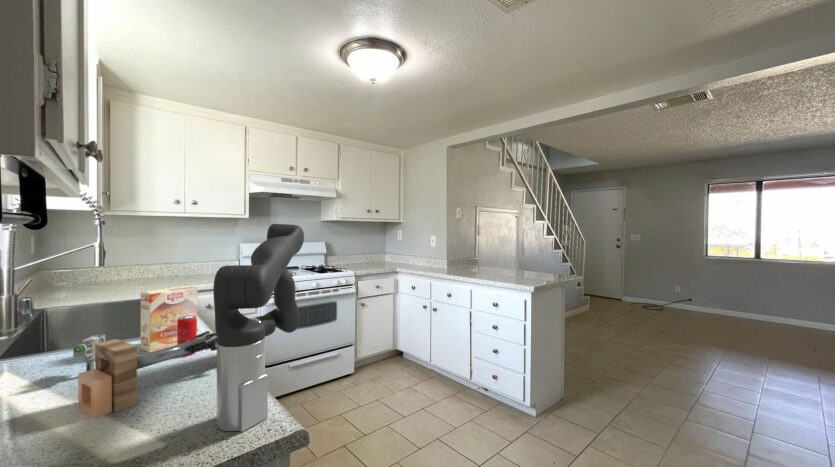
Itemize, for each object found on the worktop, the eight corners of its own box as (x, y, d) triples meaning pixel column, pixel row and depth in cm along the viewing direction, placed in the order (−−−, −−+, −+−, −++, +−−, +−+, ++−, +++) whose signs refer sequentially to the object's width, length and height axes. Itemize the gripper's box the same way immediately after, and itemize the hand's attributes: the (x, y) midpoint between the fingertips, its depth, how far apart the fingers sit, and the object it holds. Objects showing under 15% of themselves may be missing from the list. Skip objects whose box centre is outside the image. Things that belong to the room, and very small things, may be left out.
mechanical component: (70, 384, 90) (70, 346, 90) (95, 368, 100) (95, 334, 99) (84, 382, 91) (84, 345, 90) (107, 367, 100) (107, 333, 100)
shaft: (205, 346, 101) (205, 335, 101) (212, 348, 99) (212, 336, 99) (115, 373, 82) (115, 359, 82) (122, 376, 80) (122, 362, 80)
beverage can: (173, 355, 111) (173, 317, 110) (190, 349, 115) (190, 314, 115) (183, 358, 108) (183, 320, 108) (200, 352, 113) (200, 316, 113)
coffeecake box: (149, 353, 112) (149, 293, 111) (139, 349, 115) (139, 291, 115) (198, 340, 125) (198, 286, 124) (187, 337, 128) (187, 285, 128)
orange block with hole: (111, 411, 77) (111, 376, 77) (94, 418, 74) (94, 381, 74) (95, 402, 81) (95, 369, 81) (78, 408, 78) (78, 373, 78)
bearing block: (136, 403, 80) (136, 345, 80) (115, 411, 77) (115, 351, 76) (116, 393, 85) (116, 339, 85) (95, 401, 81) (95, 343, 81)
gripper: (229, 317, 113) (171, 331, 98) (258, 323, 106) (201, 338, 91) (229, 340, 113) (171, 357, 98) (258, 347, 106) (201, 367, 91)
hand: (186, 348), depth 94 cm, fingers closed on shaft, 3 cm apart
